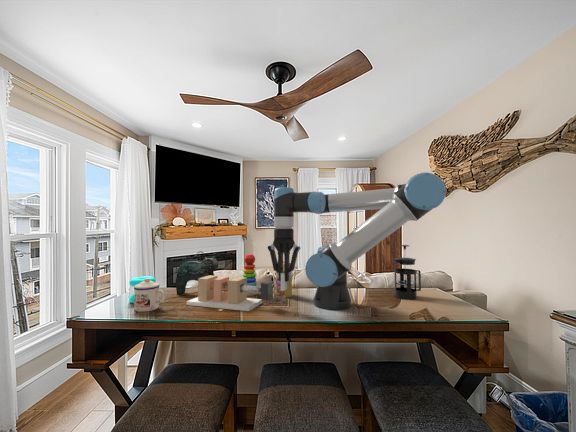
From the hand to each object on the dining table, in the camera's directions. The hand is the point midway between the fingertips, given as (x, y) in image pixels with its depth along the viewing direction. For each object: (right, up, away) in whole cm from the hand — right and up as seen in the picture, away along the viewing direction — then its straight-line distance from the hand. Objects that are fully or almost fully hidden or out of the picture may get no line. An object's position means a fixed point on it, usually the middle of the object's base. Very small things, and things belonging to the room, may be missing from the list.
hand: (283, 289), depth 112 cm
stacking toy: (-16, -9, +25) cm, 31 cm away
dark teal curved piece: (-41, -9, +26) cm, 50 cm away
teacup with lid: (-52, -8, +2) cm, 53 cm away
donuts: (-61, -9, +13) cm, 63 cm away
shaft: (-15, -4, +5) cm, 16 cm away
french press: (+54, -8, +18) cm, 58 cm away
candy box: (0, -8, +22) cm, 24 cm away
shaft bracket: (-24, -8, +8) cm, 27 cm away
